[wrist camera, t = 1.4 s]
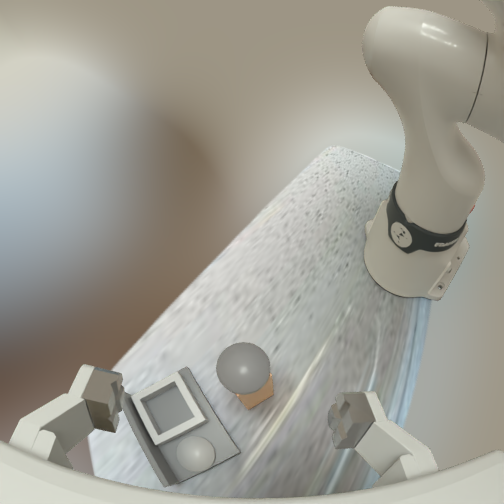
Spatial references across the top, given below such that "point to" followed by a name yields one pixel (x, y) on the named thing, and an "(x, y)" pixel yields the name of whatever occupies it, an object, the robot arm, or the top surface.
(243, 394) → the grey-capped orange post
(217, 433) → the housing
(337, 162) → the top surface
